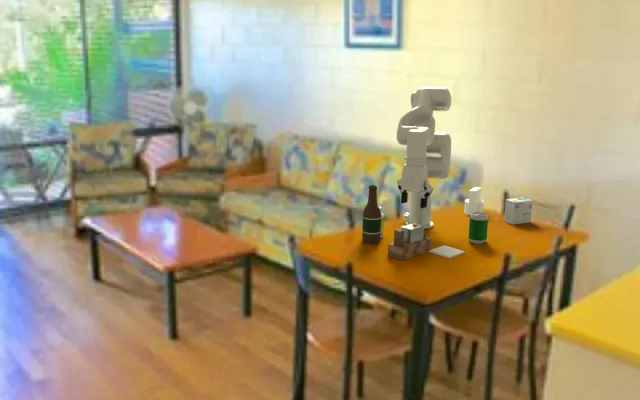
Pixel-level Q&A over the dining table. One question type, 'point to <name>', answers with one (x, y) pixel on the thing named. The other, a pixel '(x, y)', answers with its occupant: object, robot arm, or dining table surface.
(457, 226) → the dining table surface
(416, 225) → the grey stone box
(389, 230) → the dining table surface
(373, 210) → the beer bottle
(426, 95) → the robot arm
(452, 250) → the felt pad
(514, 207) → the light bulb box
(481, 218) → the soda can
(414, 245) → the body
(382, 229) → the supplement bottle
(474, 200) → the base with upright slab
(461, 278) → the dining table surface
